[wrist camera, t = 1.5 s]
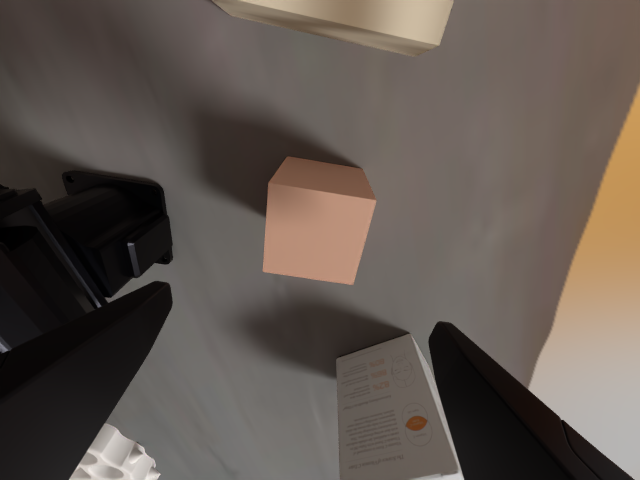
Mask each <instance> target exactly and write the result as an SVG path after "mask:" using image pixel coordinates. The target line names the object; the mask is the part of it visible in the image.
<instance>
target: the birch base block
mask: <svg viewBox="0 0 640 480" xmlns="http://www.w3.org/2000/svg"><path fill="white" fill-rule="evenodd" d="M211 1H213V2H214V3H215V4H217V5H218V6H219V7H220V8H222V9H223V10H224V11H225V12H227V13H228V14H229V15H230V16H233V17H238V18H242V19H247V20H251V21H256V22H260V23H265V24H269V25H274V26H278V27H283V28H287V29H292V30H296V31H301V32H305V33H310V34H315V35H319V36H324V37H328V38H333V39H337V40H342V41H346V42H351V43H355V44H360V45H364V46H369V47H373V48H378V49H382V50H387V51H391V52H396V53H400V54H405V55H409V56H414V57H415V56H418V55H420V54H422V53H424V52H426V51H429V50H431V49H433V48H435V47H437V46H439V45H440V41H441V38H442V35H443V32H444V29H445V26H446V23H447V20H448V17H449V14H450V11H451V8H452V5H453V2H454V0H211Z"/></svg>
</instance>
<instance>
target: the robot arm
mask: <svg viewBox="0 0 640 480" xmlns="http://www.w3.org/2000/svg"><path fill="white" fill-rule="evenodd" d="M71 177H72V178H73V179H74V180H73V179H72V178H71ZM62 179H63V182H64V185H65V188H66V191H67V194H68V196H65V197H63V198H60V199H57V200H55V201H52V202H50V203H47V204H44V205H43V204H42V202H41V201H40V200H41V199H42V198H41V196H40V195H39V193H38V192H37V190H36V189H35V188H32V189H24V190H15V189H9V187H4V186H3V185H1V184H0V480H69V479H70V477H71V476H72V474H73V473H74V471H75V469H76V468H77V466H78V465H79V463H80V462H81V460H82V458H83V457H84V455H85V454H86V452H87V450H88V449H89V447H90V446H91V444H92V443H93V441H94V439H95V438H96V436H97V435H98V433H99V431H100V430H101V428H102V427H103V425H104V424H105V422H106V420H107V419H108V417H109V416H110V414H111V413H112V411H113V409H114V408H115V406H116V405H117V403H118V401H119V400H120V398H121V397H122V395H123V394H124V392H125V390H126V389H127V387H128V386H129V384H130V383H131V381H132V379H133V378H134V376H135V375H136V373H137V371H138V370H139V368H140V367H141V365H142V364H143V362H144V360H145V359H146V357H147V355H148V354H149V352H150V350H151V348H152V346H153V345H154V342H155V340H156V338H157V336H158V334H159V332H160V330H161V328H162V326H163V324H164V322H165V320H166V318H167V316H168V314H169V312H170V310H171V308H172V303H173V301H172V294H171V287H170V284H169V283H167V282H161V281H154V282H152V283H150V284H148V285H145V286H143V287H141V288H139V289H137V290H135V291H133V292H131V293H129V294H126V295H124V296H122V297H120V298H118V299H116V300H114V301H112V302H110V303H108V302H107V300H106V299H105V297H107V298H111V297H112V296H113V295H115V294H116V293H117V292H118V291H119V290H120V289H121V288H122V287H123V286H124V285H125V284H126V283H127V282H129V281H130V280H131V279H132V278H138V277H140V276H141V275H142V274H143V273H144V272H145V271H147V270H148V269H149V268H150V267H151V266H152V265H153V264H154V263H158V264H169V263H170V262H171V261H172V260H173V255H172V245H173V244H172V236H171V229H170V221H169V217H168V215H167V211H166V203H165V196H164V191H163V188H162V187H161V186H160V185H158V184H155V183H148V182H142V181H136V180H129V179H123V178H117V177H111V176H104V175H98V174H92V173H86V172H79V171H73V170H72V171H67V172H64V173H63V174H62ZM153 189H154V190H156V192H157V194H155V193H154V192H153ZM164 257H166V258H167V259H165V258H164ZM429 349H430V354H431V359H432V365H433V370H434V375H435V380H436V385H437V390H438V393H439V397H440V400H441V404H442V407H443V410H444V414H445V417H446V420H447V424H448V427H449V431H450V434H451V437H452V441H453V444H454V447H455V451H456V454H457V458H458V461H459V464H460V468H461V471H462V474H463V478H464V480H634V479H633V478H632V477H631V476H629V475H628V474H627V473H626V472H624V471H623V470H622V469H621V468H619V467H618V466H617V465H616V464H615V463H613V462H612V461H611V460H610V459H608V458H607V457H606V456H605V455H603V454H602V453H601V452H600V451H599V450H597V449H596V448H595V447H594V446H593V445H592V444H590V443H589V442H588V441H587V440H585V439H584V438H583V437H582V436H581V435H580V434H579V433H577V432H576V431H575V430H574V429H573V428H572V427H570V426H569V425H568V424H567V423H566V422H565V421H564V420H561V419H560V417H559V416H558V415H557V414H556V413H554V412H553V411H552V410H551V409H550V408H548V407H547V406H546V405H545V404H544V403H543V402H542V401H540V400H539V399H538V398H537V397H536V396H535V395H534V394H532V393H531V392H530V391H529V390H528V389H527V388H526V387H524V386H523V385H522V384H521V383H520V382H519V381H518V380H516V379H515V378H514V377H513V376H512V375H511V374H509V373H508V372H507V371H506V370H505V369H504V368H503V367H501V366H500V365H499V364H498V363H497V362H496V361H494V360H493V359H492V358H491V357H490V356H489V355H488V354H486V353H485V352H484V351H483V350H482V349H481V348H479V347H478V346H477V345H476V344H475V343H474V342H473V341H471V340H470V339H469V338H468V337H467V336H466V335H465V334H463V333H462V332H461V331H460V330H459V329H458V328H456V327H455V326H454V325H453V324H452V323H449V322H442V321H439V322H437V324H436V325H435V327H434V329H433V331H432V333H431V335H430V337H429Z"/></svg>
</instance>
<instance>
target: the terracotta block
mask: <svg viewBox="0 0 640 480" xmlns="http://www.w3.org/2000/svg"><path fill="white" fill-rule="evenodd" d="M376 201H377V200H376V198H375V196H374V194H373V191H372V189H371V187H370V185H369V182H368V180H367V178H366V175H365V173H364V171H363V169H361V168H355V167H349V166H343V165H337V164H331V163H325V162H319V161H313V160H307V159H301V158H295V157H289V156H287V157H286V159H285V160H284V161H283V163H282V164H281V166H280V167H279V169H278V170H277V171H276V173H275V174H274V176H273V177H272V178H271V180H270V181H269V183H268V198H267V214H266V230H265V246H264V261H263V272H268V273H275V274H282V275H288V276H295V277H302V278H309V279H315V280H322V281H329V282H336V283H343V284H349V285H353V283H354V280H355V276H356V273H357V269H358V265H359V262H360V258H361V255H362V251H363V247H364V244H365V240H366V237H367V233H368V229H369V226H370V222H371V219H372V215H373V211H374V208H375V204H376Z"/></svg>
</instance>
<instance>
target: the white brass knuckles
mask: <svg viewBox="0 0 640 480" xmlns="http://www.w3.org/2000/svg"><path fill="white" fill-rule="evenodd" d="M155 466H156V465H155V461H154V459H152V458H150V457H149V456H148V455H147V454H146V453H145V448H143V447H142V446H141V445H139V444H138V443H136V442H135V441H132V440H129V439H127V438H126V437H124V436H123V435H121V434H120V433H119V431H118V429H117V428H115V427H113V426H111V425H109V424H106V423H105V424H104V425H103V427H102V428H101V430H100V431H99V433H98V435H97V436H96V438H95V439H94V441H93V443H92V444H91V446H90V447H89V449H88V450H87V452H86V454H85V455H84V457H83V458H82V460H81V462H80V463H79V465H78V466H77V468H76V469H75V471H74V473H73V474H72V476H71V477H70V479H69V480H157V479H158V477H159V475H161V474H160V473H159V472H158V471H157V470H156V469H155Z"/></svg>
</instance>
